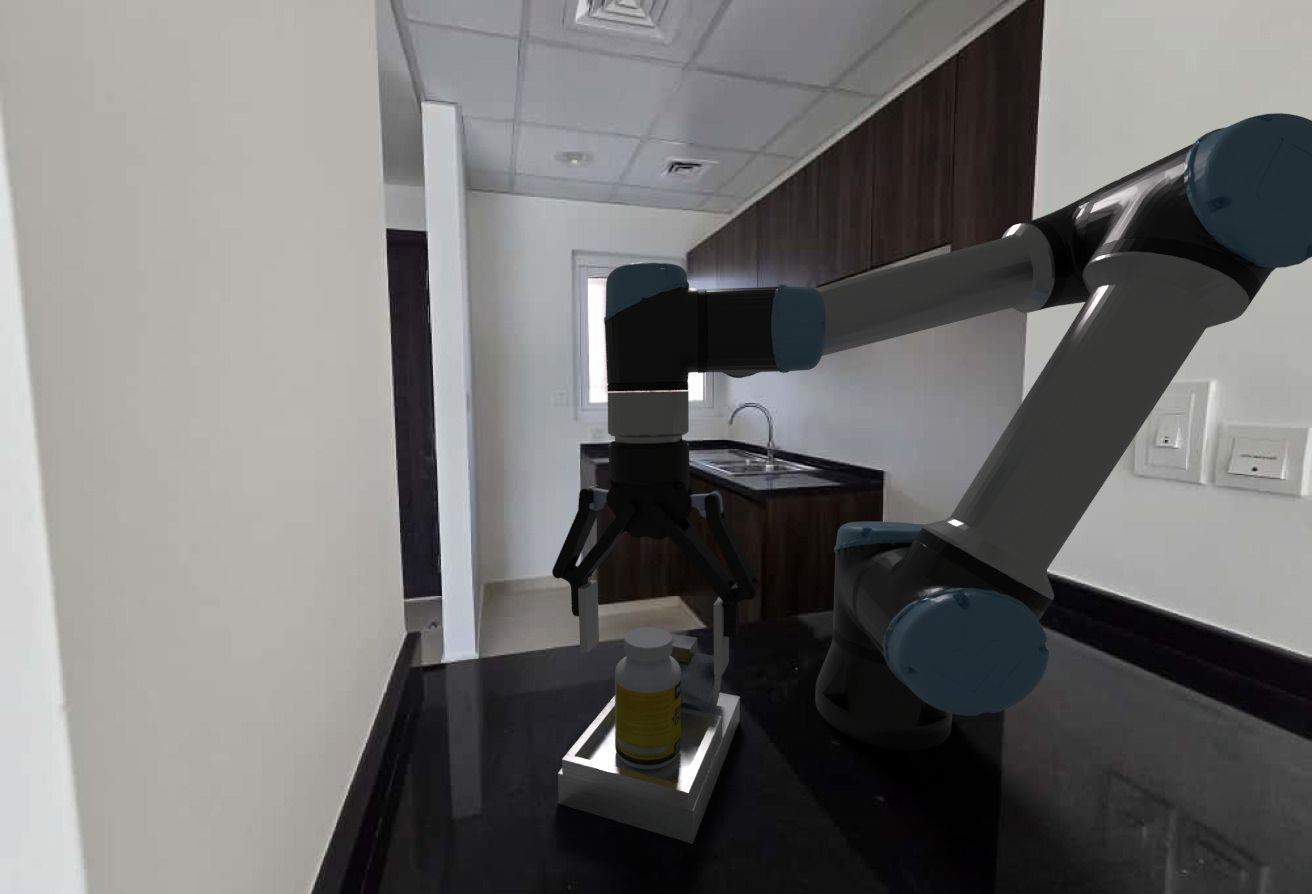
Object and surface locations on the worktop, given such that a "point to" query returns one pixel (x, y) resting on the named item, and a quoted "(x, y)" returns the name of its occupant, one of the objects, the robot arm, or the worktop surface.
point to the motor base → (668, 792)
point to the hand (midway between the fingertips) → (652, 657)
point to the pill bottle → (647, 700)
